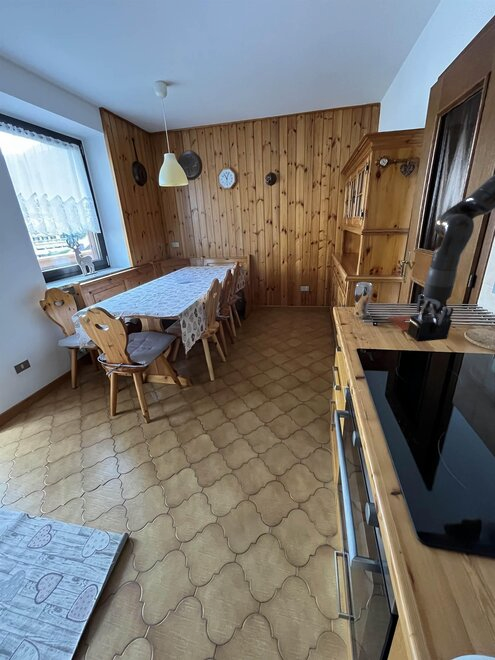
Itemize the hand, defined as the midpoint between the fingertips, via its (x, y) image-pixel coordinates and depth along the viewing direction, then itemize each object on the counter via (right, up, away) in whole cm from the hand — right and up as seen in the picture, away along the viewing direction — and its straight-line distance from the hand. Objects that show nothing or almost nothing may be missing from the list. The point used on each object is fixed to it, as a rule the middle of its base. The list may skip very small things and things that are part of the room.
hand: (428, 329), depth 95 cm
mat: (+8, +3, +25) cm, 27 cm away
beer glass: (-9, +7, +36) cm, 37 cm away
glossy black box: (0, -2, +1) cm, 3 cm away
